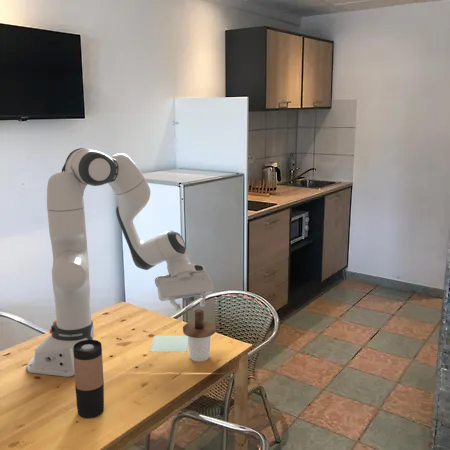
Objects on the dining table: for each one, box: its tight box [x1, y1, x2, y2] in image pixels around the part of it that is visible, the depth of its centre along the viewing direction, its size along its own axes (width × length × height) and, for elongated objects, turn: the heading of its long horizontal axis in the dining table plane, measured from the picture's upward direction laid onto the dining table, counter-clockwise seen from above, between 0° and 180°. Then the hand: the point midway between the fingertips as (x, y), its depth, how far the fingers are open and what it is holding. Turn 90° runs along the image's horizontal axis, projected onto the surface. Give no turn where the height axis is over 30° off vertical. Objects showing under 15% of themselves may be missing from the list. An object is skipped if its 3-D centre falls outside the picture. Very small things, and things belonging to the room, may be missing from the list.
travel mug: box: [73, 339, 105, 420], centre depth 138 cm, size 8×8×20 cm
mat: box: [149, 335, 189, 353], centre depth 181 cm, size 13×13×1 cm
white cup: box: [188, 335, 212, 362], centre depth 171 cm, size 8×8×10 cm
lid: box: [182, 308, 216, 338], centre depth 169 cm, size 11×11×7 cm
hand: (191, 307), depth 175 cm, fingers open, 8 cm apart
